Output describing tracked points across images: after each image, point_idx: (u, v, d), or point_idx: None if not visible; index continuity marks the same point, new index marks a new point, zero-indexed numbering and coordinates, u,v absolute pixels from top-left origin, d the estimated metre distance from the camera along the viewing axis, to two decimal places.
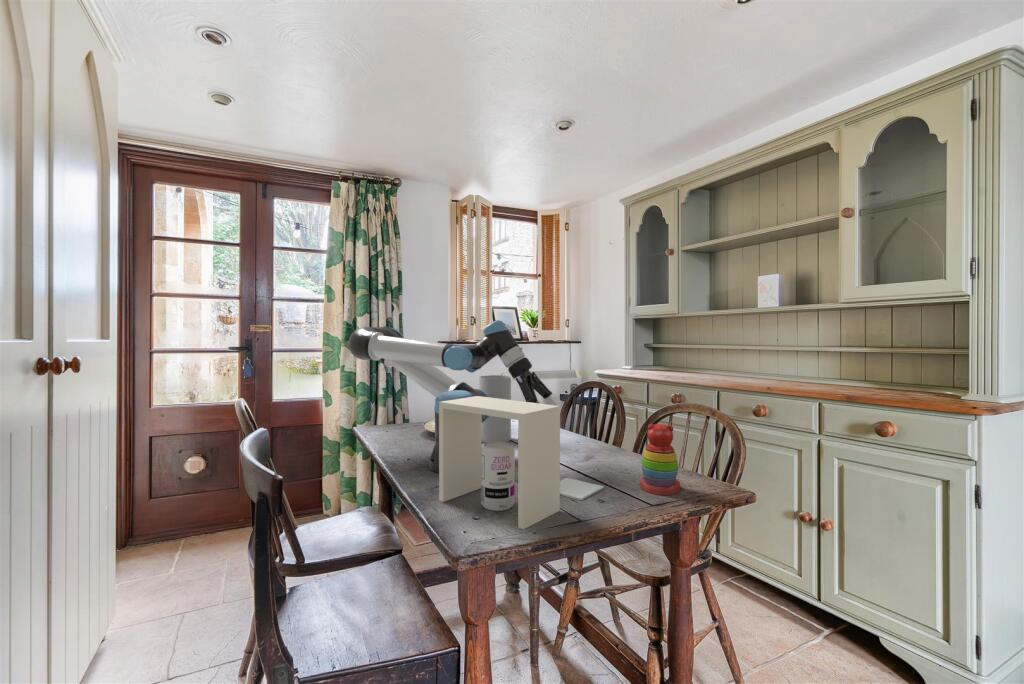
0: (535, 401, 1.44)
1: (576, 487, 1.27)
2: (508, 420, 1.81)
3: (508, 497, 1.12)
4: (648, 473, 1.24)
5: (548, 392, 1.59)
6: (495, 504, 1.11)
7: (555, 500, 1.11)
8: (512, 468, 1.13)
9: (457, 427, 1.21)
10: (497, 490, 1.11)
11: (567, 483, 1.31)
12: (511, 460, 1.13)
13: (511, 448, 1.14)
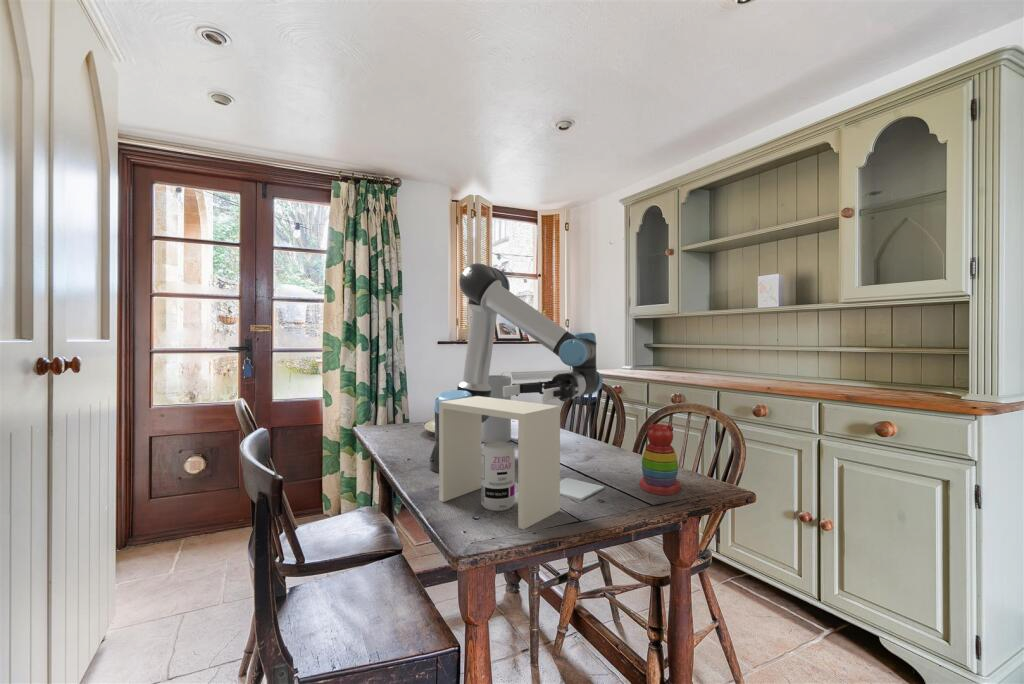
0: (564, 395, 1.23)
1: (576, 487, 1.27)
2: (508, 420, 1.81)
3: (508, 497, 1.12)
4: (648, 473, 1.24)
5: (519, 392, 1.34)
6: (495, 504, 1.11)
7: (555, 500, 1.11)
8: (512, 468, 1.13)
9: (457, 427, 1.21)
10: (497, 490, 1.11)
11: (567, 483, 1.31)
12: (511, 460, 1.13)
13: (511, 448, 1.14)
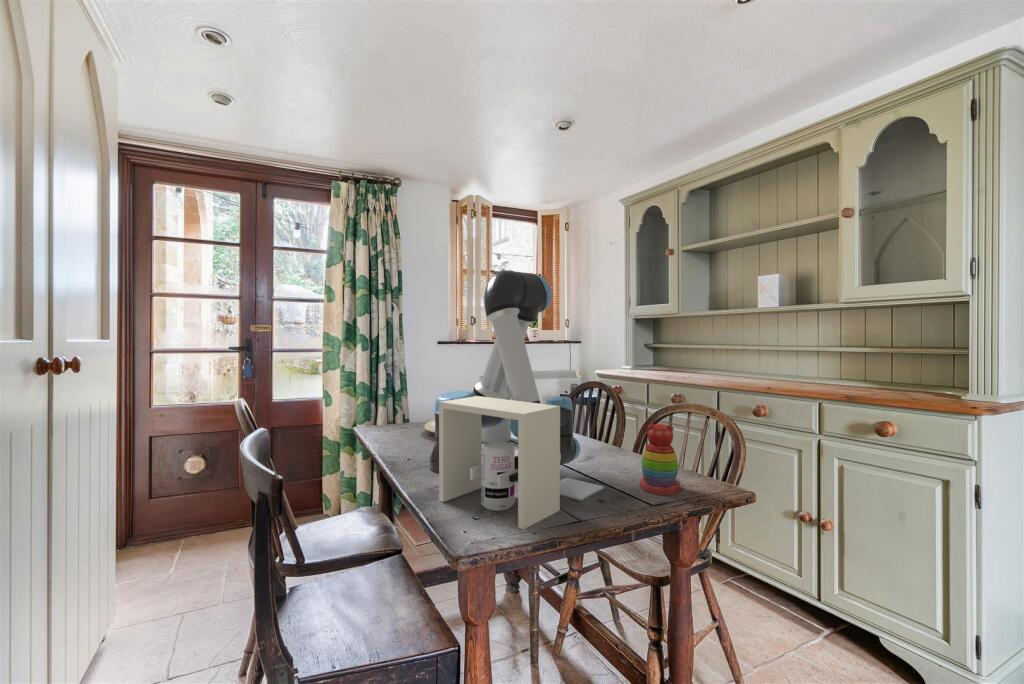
0: None
1: (576, 487, 1.27)
2: (508, 420, 1.81)
3: (508, 497, 1.12)
4: (648, 473, 1.24)
5: None
6: (495, 504, 1.11)
7: (555, 500, 1.11)
8: (512, 468, 1.13)
9: (457, 427, 1.21)
10: (497, 490, 1.11)
11: (567, 483, 1.31)
12: (511, 460, 1.13)
13: (511, 448, 1.14)
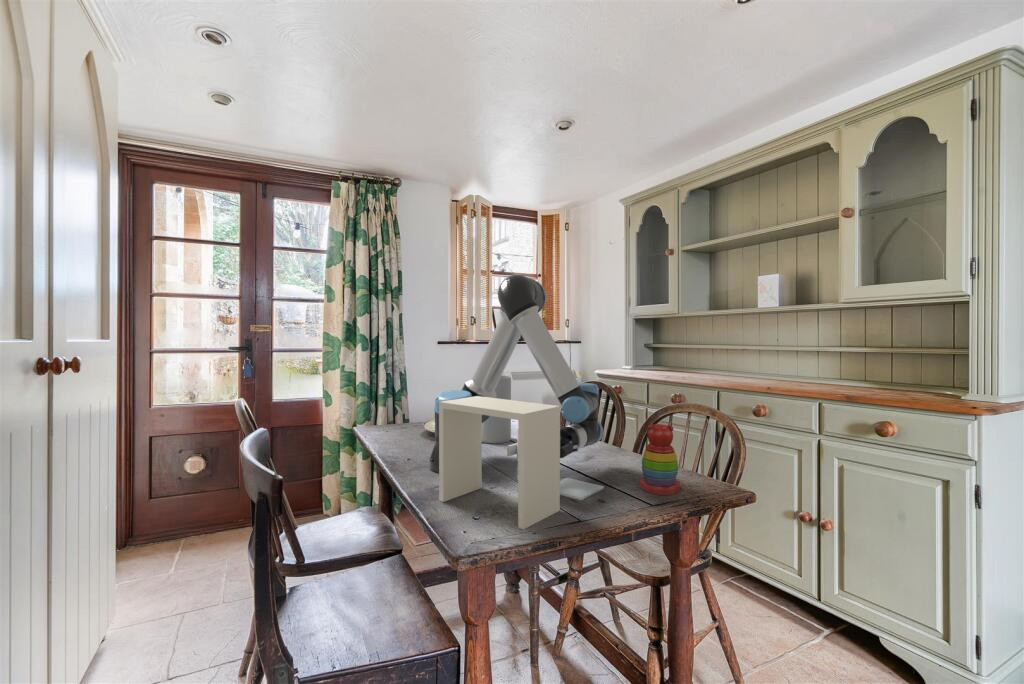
0: None
1: (576, 487, 1.27)
2: (508, 420, 1.81)
3: None
4: (648, 473, 1.24)
5: None
6: None
7: (555, 500, 1.11)
8: None
9: (457, 427, 1.21)
10: None
11: (567, 483, 1.31)
12: None
13: None
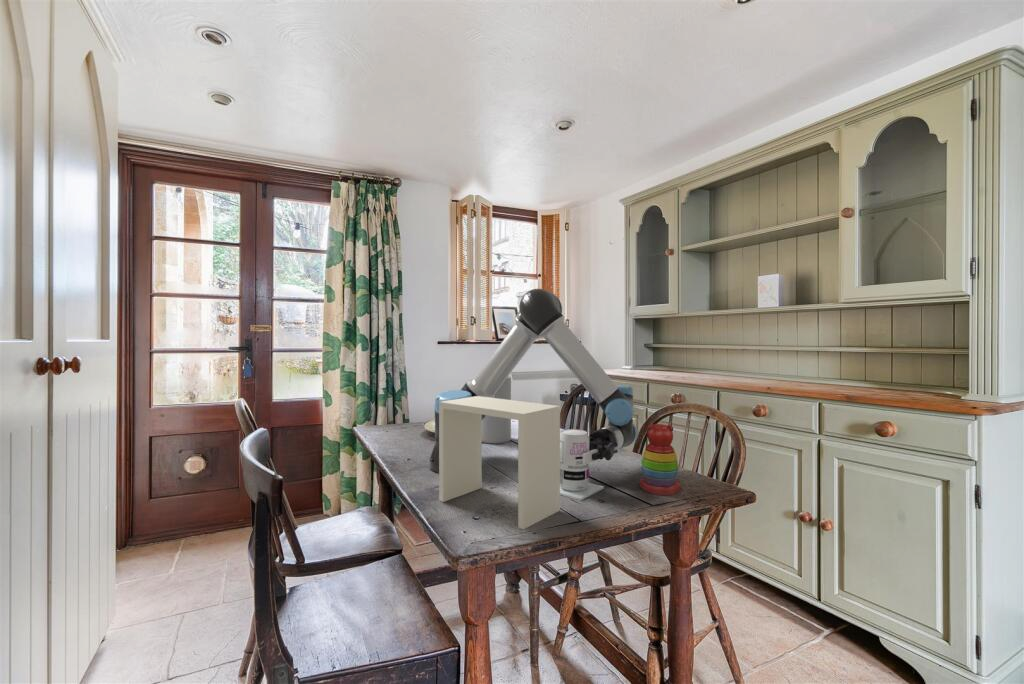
0: (602, 457, 1.25)
1: None
2: (508, 420, 1.81)
3: (585, 479, 1.24)
4: (648, 473, 1.24)
5: None
6: (573, 485, 1.23)
7: (555, 500, 1.11)
8: None
9: (457, 427, 1.21)
10: (575, 473, 1.23)
11: None
12: (587, 446, 1.24)
13: (587, 435, 1.25)
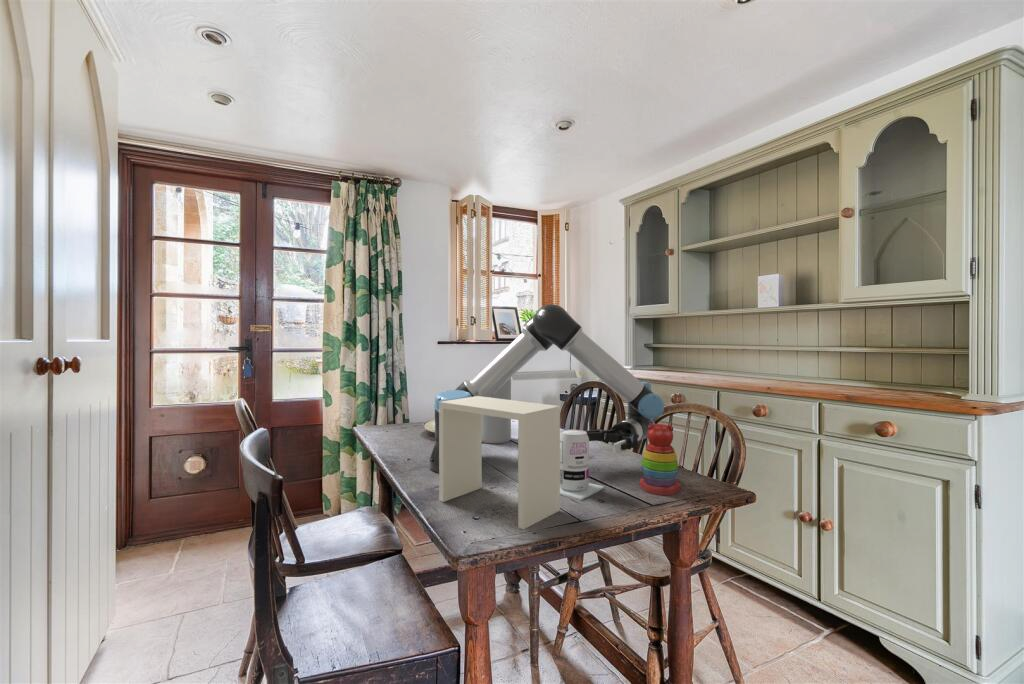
0: (630, 448, 1.35)
1: None
2: (508, 420, 1.81)
3: (584, 479, 1.24)
4: (648, 473, 1.24)
5: None
6: (573, 485, 1.23)
7: (555, 500, 1.11)
8: (587, 453, 1.25)
9: (457, 427, 1.21)
10: (575, 472, 1.23)
11: None
12: (587, 446, 1.25)
13: (586, 435, 1.26)
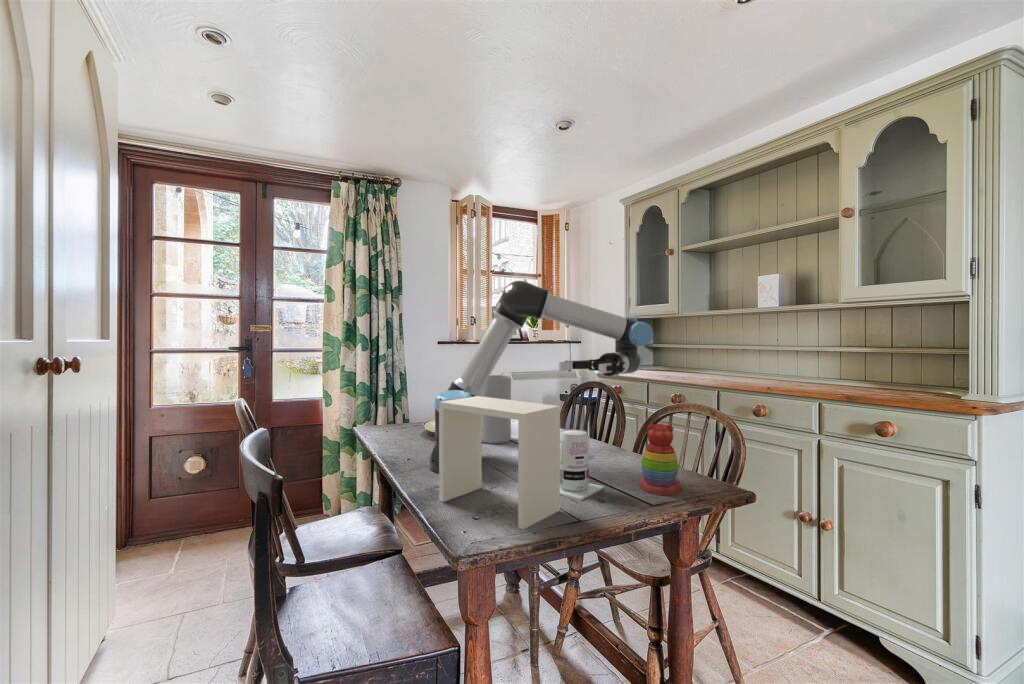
0: (615, 370, 1.39)
1: None
2: (508, 420, 1.81)
3: (584, 479, 1.24)
4: (648, 473, 1.24)
5: None
6: (573, 485, 1.23)
7: (555, 500, 1.11)
8: (587, 453, 1.25)
9: (457, 427, 1.21)
10: (575, 472, 1.23)
11: None
12: (587, 446, 1.25)
13: (586, 435, 1.26)
